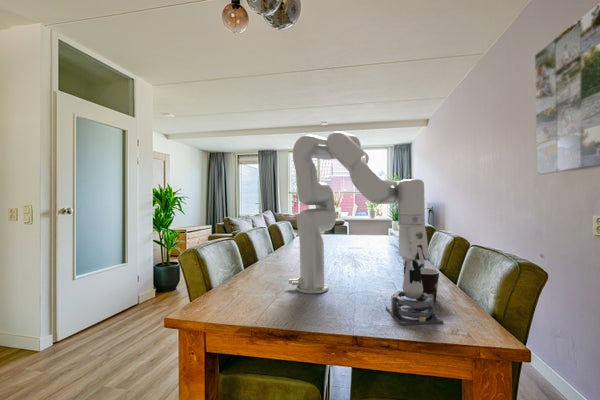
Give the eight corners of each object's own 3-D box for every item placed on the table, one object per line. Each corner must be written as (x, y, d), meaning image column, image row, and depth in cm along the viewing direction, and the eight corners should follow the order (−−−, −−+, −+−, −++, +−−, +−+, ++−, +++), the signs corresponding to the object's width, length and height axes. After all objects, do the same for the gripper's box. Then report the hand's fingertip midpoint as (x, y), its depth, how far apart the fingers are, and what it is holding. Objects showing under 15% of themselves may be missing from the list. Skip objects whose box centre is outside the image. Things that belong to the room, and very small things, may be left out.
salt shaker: (417, 293, 89) (416, 251, 89) (427, 299, 84) (426, 255, 84) (399, 294, 89) (398, 252, 89) (407, 300, 83) (407, 255, 83)
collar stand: (400, 325, 80) (400, 304, 80) (385, 308, 92) (384, 290, 92) (444, 323, 81) (444, 302, 81) (423, 307, 93) (422, 288, 93)
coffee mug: (428, 306, 94) (427, 275, 94) (407, 298, 101) (406, 269, 101) (450, 299, 99) (450, 270, 99) (429, 292, 107) (429, 265, 107)
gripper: (438, 222, 78) (439, 289, 78) (410, 218, 95) (411, 274, 95) (411, 223, 78) (412, 290, 78) (388, 218, 94) (389, 274, 94)
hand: (412, 281), depth 86 cm, fingers closed on salt shaker, 3 cm apart
